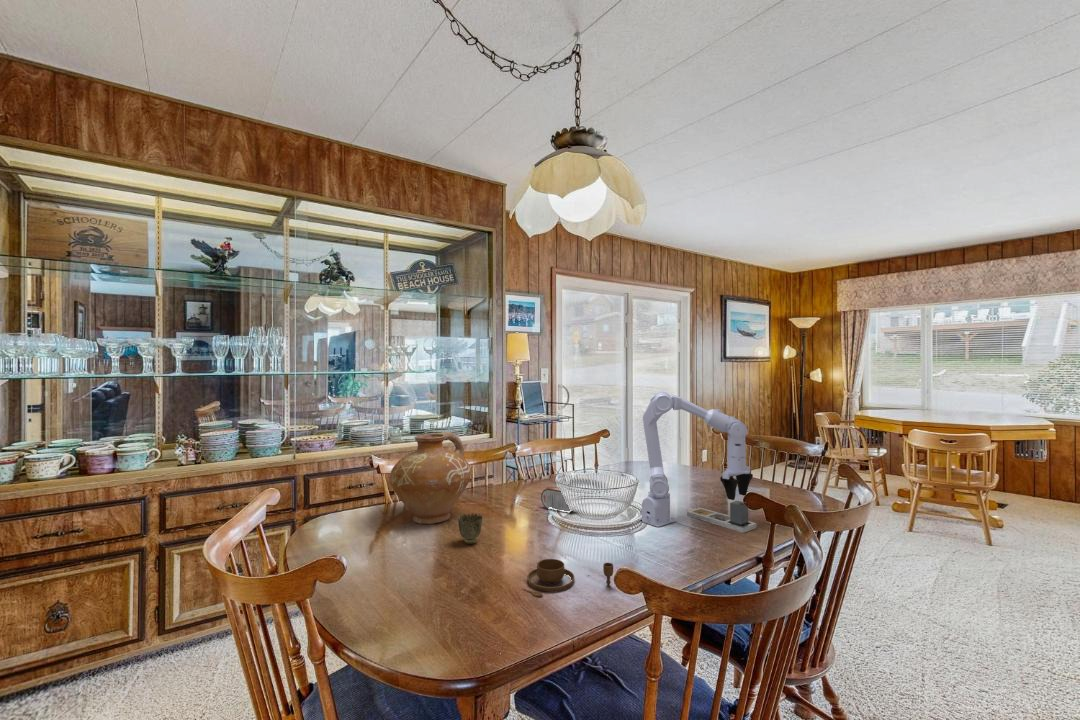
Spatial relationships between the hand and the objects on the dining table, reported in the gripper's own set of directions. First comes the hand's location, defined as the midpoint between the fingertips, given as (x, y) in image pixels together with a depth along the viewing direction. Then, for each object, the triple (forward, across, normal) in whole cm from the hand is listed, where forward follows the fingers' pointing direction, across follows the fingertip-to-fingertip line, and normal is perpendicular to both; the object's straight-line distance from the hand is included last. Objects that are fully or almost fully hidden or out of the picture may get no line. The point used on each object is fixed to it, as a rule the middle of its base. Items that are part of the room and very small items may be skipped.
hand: (736, 497), depth 163 cm
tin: (+10, -33, +51) cm, 62 cm away
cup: (+10, -75, +46) cm, 88 cm away
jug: (+10, -73, +75) cm, 105 cm away
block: (+10, -1, -1) cm, 10 cm away
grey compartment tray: (+10, 0, +6) cm, 11 cm away
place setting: (+10, -72, +6) cm, 73 cm away
